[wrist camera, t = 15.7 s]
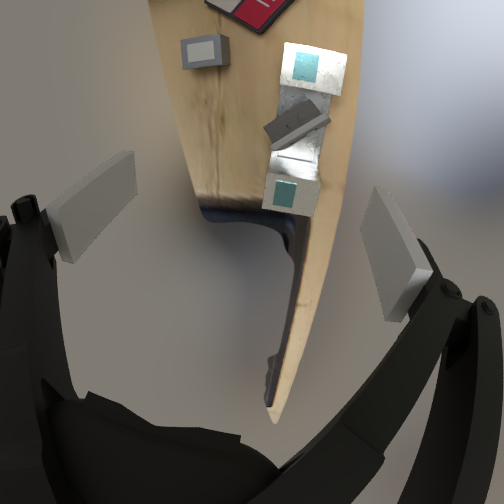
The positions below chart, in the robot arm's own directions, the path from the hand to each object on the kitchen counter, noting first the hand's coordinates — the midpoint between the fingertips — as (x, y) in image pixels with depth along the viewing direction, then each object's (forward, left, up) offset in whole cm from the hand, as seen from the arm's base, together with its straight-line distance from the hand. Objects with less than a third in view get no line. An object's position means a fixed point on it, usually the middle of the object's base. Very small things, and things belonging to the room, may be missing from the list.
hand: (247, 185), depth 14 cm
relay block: (-12, +8, -35) cm, 38 cm away
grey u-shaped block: (+4, -2, -35) cm, 35 cm away
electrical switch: (+3, -2, -33) cm, 33 cm away
